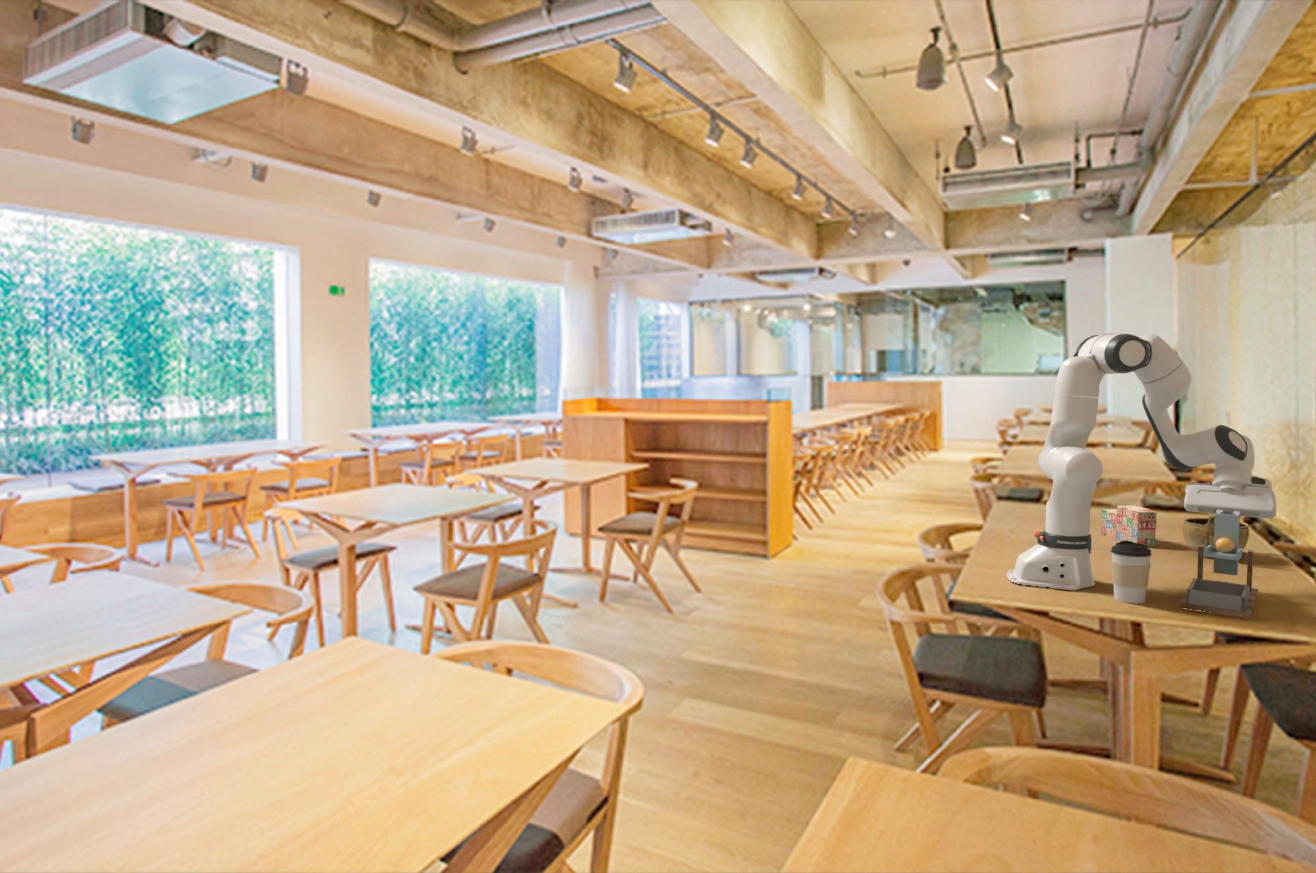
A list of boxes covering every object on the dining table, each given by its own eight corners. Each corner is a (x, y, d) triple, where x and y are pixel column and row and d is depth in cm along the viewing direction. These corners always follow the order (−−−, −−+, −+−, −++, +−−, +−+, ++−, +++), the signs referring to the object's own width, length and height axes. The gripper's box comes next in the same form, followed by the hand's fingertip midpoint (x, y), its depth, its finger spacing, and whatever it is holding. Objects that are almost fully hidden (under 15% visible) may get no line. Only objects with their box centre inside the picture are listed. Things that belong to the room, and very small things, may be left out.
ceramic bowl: (1246, 566, 230) (1248, 517, 228) (1178, 559, 240) (1180, 512, 239) (1248, 552, 247) (1250, 506, 246) (1185, 546, 257) (1186, 502, 256)
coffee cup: (1156, 605, 194) (1158, 547, 193) (1117, 604, 196) (1118, 546, 195) (1141, 595, 203) (1143, 539, 202) (1104, 594, 205) (1105, 539, 204)
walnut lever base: (1193, 585, 211) (1194, 543, 210) (1257, 594, 202) (1259, 549, 201) (1180, 608, 191) (1181, 561, 190) (1250, 619, 182) (1252, 570, 181)
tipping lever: (1206, 569, 211) (1209, 511, 211) (1246, 574, 205) (1249, 515, 205) (1198, 576, 197) (1201, 515, 197) (1241, 582, 191) (1244, 518, 191)
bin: (1193, 591, 201) (1193, 578, 201) (1248, 598, 193) (1249, 585, 193) (1186, 603, 191) (1186, 589, 190) (1244, 612, 183) (1245, 597, 183)
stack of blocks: (1100, 534, 279) (1101, 500, 278) (1117, 534, 279) (1118, 500, 278) (1137, 547, 257) (1138, 511, 256) (1155, 547, 257) (1157, 511, 256)
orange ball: (1218, 551, 200) (1219, 536, 201) (1212, 551, 204) (1213, 536, 204) (1236, 553, 199) (1237, 538, 199) (1230, 554, 203) (1231, 539, 203)
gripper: (1185, 475, 216) (1179, 514, 210) (1278, 481, 203) (1274, 523, 196) (1186, 488, 220) (1180, 527, 213) (1278, 495, 207) (1274, 537, 200)
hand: (1226, 525), depth 205 cm, fingers closed
